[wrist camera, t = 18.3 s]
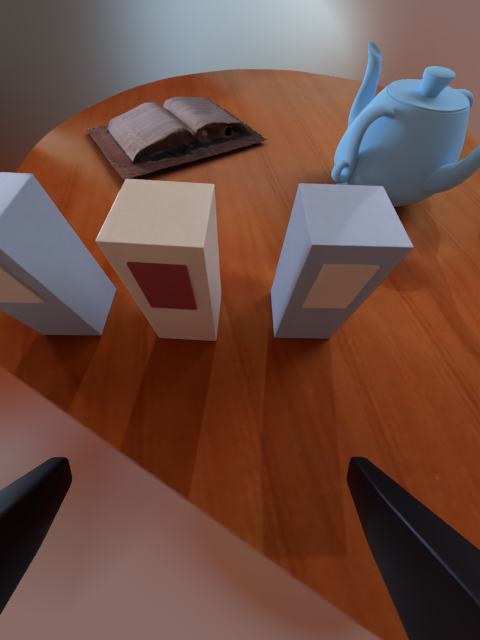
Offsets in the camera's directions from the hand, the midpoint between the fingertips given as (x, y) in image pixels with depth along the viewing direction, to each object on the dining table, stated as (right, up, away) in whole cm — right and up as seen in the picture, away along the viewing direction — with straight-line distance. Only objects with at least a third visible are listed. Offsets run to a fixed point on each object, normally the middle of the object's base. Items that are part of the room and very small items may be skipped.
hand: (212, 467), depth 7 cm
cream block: (-4, +5, +18) cm, 19 cm away
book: (-11, +39, +37) cm, 55 cm away
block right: (+8, +5, +19) cm, 21 cm away
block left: (-17, +6, +18) cm, 25 cm away
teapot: (+23, +26, +31) cm, 46 cm away
